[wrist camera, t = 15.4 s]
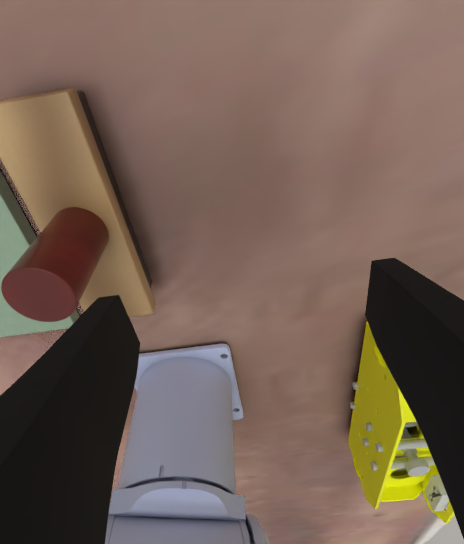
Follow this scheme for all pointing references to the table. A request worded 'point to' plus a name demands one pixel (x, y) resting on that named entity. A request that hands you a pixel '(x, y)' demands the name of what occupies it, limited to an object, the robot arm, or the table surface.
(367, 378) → the yellow toy chassis
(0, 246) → the tile
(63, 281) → the brush
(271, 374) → the table surface
